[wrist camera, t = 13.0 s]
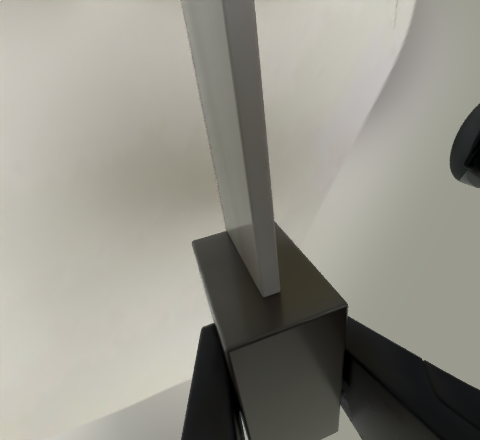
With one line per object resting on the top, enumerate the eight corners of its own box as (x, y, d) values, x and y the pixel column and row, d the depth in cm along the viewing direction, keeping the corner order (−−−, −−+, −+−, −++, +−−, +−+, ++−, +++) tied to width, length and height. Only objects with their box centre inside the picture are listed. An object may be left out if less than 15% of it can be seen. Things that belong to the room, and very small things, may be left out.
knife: (222, 352, 10) (257, 470, 7) (108, -56, 5) (54, -280, 2) (282, 329, 11) (339, 432, 8) (244, -67, 5) (398, -256, 2)
